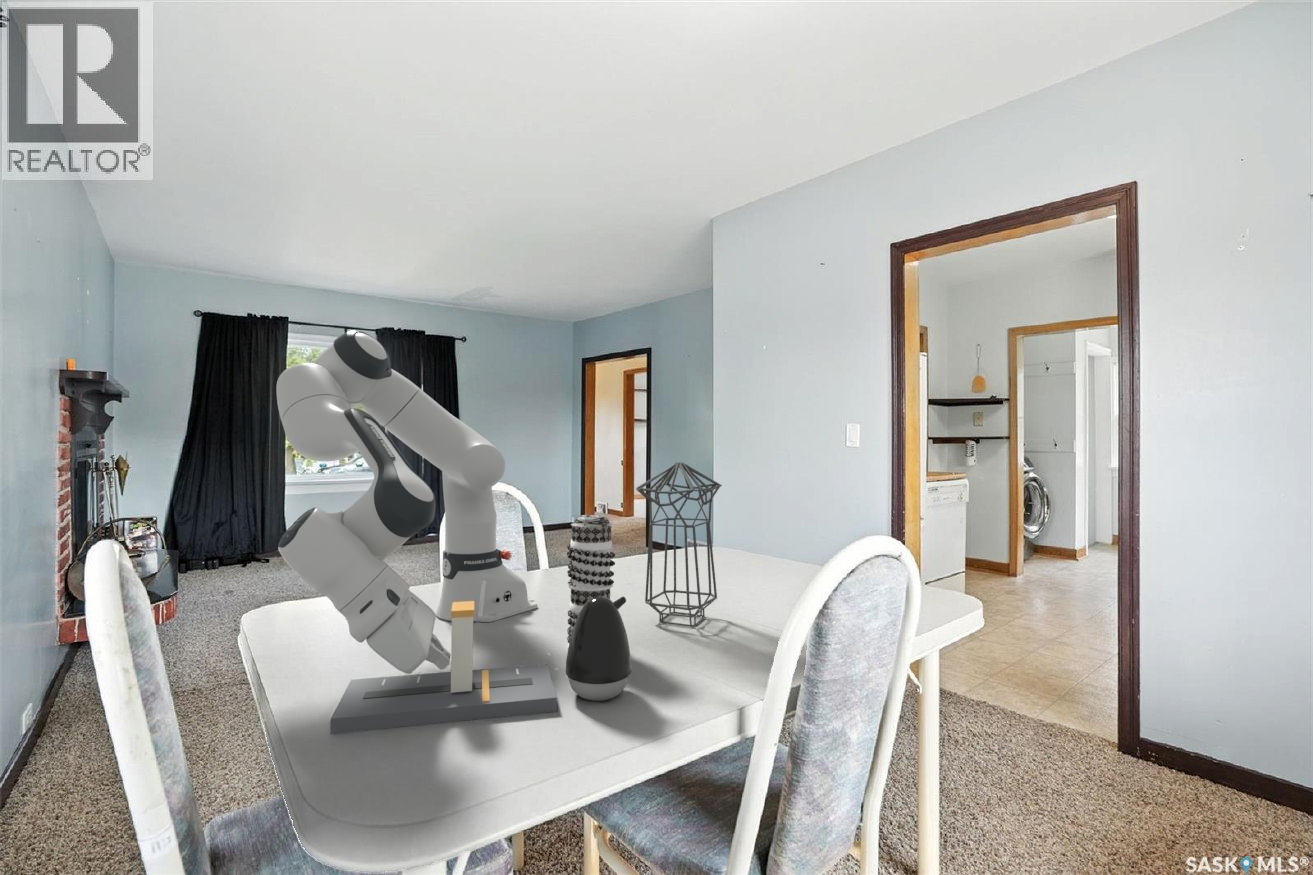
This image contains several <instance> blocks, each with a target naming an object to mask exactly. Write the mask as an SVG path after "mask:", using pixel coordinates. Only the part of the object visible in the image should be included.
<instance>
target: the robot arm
mask: <svg viewBox="0 0 1313 875" xmlns="http://www.w3.org/2000/svg"><path fill="white" fill-rule="evenodd" d="M276 400H277V401H276V402H277V409H278V412H279V418H280V421H281V424H282V427H283V430H284V434H285V436H286V440H287V441H288V443H289V444H290V446H291V448H292V449H293V450H294V451H295V452H296V453H297V454H299V455H300V456H302V457H304V458H306V459H308V460H310V461H316V462H336V461H341V460H345V459H346V458H348V457H351V456H353V455H355V454H357V453H359V455H361V457H362V459H363V460H364V462H365V463H366V464H367V466H368V467H369V469H370V471H372V473H373V480H372V483H371V485H370V487H369V488H368V489H367V490H366V492H364V493H363V495H362V496H360V497H359V498H358V499H357V500H356V501H355V502H354V503H353V504H352V505H350V507H348V508H347V509H345V510H342V511H339V512H333V513H330V512H329V513H328V512H327V511H326V510H323V509H322V508H319V507H316V506H315V507H312V508H310V509H307V511H304V513H302V514H301V515H300V516H299V517H298V518H297V519H296V520H295V521H294V522H293V523H292V525H291V526H290V527H288V528H287V529H286V531H285V532H284V533H283V534H282V536H281V537H280V539H279V541H278V546H277V549H278V552H279V554H280V555H281V557H282V558H283V559H284V561H285V562H286V563H287V565H288V566H289V568H291V569H292V570H293V571H294V573H296V575H297V576H298V577H299V578H300V579H302V580H303V581H304V583H305V584H307V585H308V586H309V587H311V589H312V590H314V591H315V592H317V593H320V594H322V595H324V596H325V597H326V598H327V599H328V600H330V602H331V603H332V604H333V607H334V608H335V609H336V610H337V611H338V613H340V615H342V616H343V617H345V620H346V621H347V625H348V628H349V629H348V631H349V635H350V636H351V637H352V638H353V639H354V640H355V641H357V642H358V643H363V642H364V641H365V640H366V643H367V645H368V646H369V648H371V649H372V651H373V652H375V653H376V654H377V655H378V656H379V657H381V658H382V659H384V660H385V661H386V662H387V663H388V664H390V665H391V666H392V667H394V668H395V669H397V670H398V671H400V672H401V673H404V674H406V675H412V673H413V672H414V671H415V670H416V669H417V668H419V667H420V666H421V665H422V664H423V662H425V661H427V662H429V663H432V664H434V665H435V666H436V667H437V668H438V669H439V670H445V669H446V667H447V668H448V666H449V665H450V664H451V652H450V651H448V650H447V649H446V648H445V647H444V645H443V643H442V642H441V641H440V640H439V638H438V637H437V636H436V634H434V628H435V622H436V619H437V618H440V619H442V620H444V621H445V620H446V621H451V622H452V618H451V609H452V603H453V602H464V601H474V617H473V622H482V623H483V622H484V623H490V622H495V621H499V620H501V619H502V620H503V619H505V618H508V617H512V616H514V615H518V614H521V613H525V612H527V611H531V610H534V609H537V608H538V602H537V601H536V600H535V599H533V598H531V597H529V596H528V588H527V585H526V582H525V580H524V579H523V578H522V577H520V576H519V575H518V574H516V572H514V571H512V570H511V569H510V568H509V567H508V566H505V564H504V562H503V560H506V561H509V560H511V559H512V552H511V551H509V550H505V549H504V550H502V551H501V550H500V549H498V548H497V512H496V507H495V503H494V495H493V494H494V493H493V487H494V486H495V485H497V484H498V483H499V481H501V479H502V478H503V476H504V473H505V470H506V461H505V458H504V456H503V453H502V452H501V451H500V450H499V448H498V447H497V446H495V445H494V444H493V443H491V442H490V441H489V440H488V439H486V438H485V437H484V436H482V435H481V434H480V433H478V432H477V431H476V430H474V429H473V428H472V427H471V426H469V425H467V424H466V423H464V422H463V421H461V420H460V419H459V418H457V417H456V416H454V415H453V414H451V413H450V412H449V411H448V410H447V409H446V408H444V407H443V406H442V405H440V404H439V403H438V402H437V401H436V400H434V399H433V397H431V396H429V394H427V393H426V392H425V391H424V390H422V389H421V388H420V387H419V386H418V385H416V384H415V383H414V382H413V381H411V380H410V379H409V378H407V377H405V375H402V374H401V373H399V372H398V371H396V370H394V369H393V368H391V360H390V355H389V353H388V351H387V349H386V348H385V347H384V346H383V344H381V342H380V341H379V340H377V339H376V338H375V337H373V336H372V335H370V334H368V333H366V332H364V331H359V330H348V331H346V332H344V333H342V334H341V335H340V336H338V337H337V338H336V339H334V341H333V343H332V344H331V345H330V346H328V347H326V349H325V350H324V351H322V353H320V354H319V355H318V356H317V357H316V358H315V359H314V360H313V361H312V362H302V363H297V364H294V365H291V366H290V367H289V366H288V368H286V369H284V370H283V371H282V372H281V374H279V377H278V378H277V382H276ZM358 405H359V406H360V408H362V409H363V410H362V409H360V408H357V407H358ZM385 430H387V431H388V432H390V433H391V434H392V435H393V436H395V437H396V438H397V439H398V440H400V441H401V442H403V444H405V445H406V446H407V447H408V448H410V449H411V450H412V451H413V452H414V453H417V454H418V455H419V456H421V457H423V458H424V459H425V460H427V461H428V462H429V463H430V464H432V465H433V466H434V467H436V468H437V469H439V471H441V474H442V475H441V476H442V478H441V479H442V491H443V492H442V493H443V502H444V503H443V504H444V516H445V525H444V528H445V530H444V532H445V534H444V537H445V538H444V550H443V551H442V566H441V568H442V570H441V571H442V577H443V580H442V586H441V587H442V588H441V593H440V594H441V595H440V599H439V604H438V606H437V610H436V612H435V611H434V610H433V609H432V608H431V607H430V606H429V605H428V604H427V603H425V602H424V601H423V600H422V599H421V598H420V597H418V596H417V595H416V594H415V593H413V592H412V591H410V587H411V586H410V583H409V582H407V581H406V580H405V579H404V578H403V577H402V576H401V575H400V574H398V572H396V570H394V569H393V568H392V567H391V566H390V565H389V564H388V563H387V562H385V560H386V559H387V558H388V557H389V556H390V555H392V554H393V553H394V552H396V550H398V549H399V548H400V547H401V546H403V544H405V543H406V542H407V541H408V540H409V539H410V538H411V537H414V536H415V535H417V534H418V533H419V532H420V531H422V530H423V529H425V528H426V527H427V526H429V525H430V524H432V522H433V520H434V518H435V516H436V514H435V513H436V497H435V496H436V495H435V493H434V491H433V489H432V488H431V487H430V486H429V484H428V483H427V482H426V481H425V480H424V479H423V478H422V477H421V476H420V475H419V474H418V473H417V472H416V471H415V470H414V469H413V467H412V466H411V465H410V463H409V462H408V461H407V459H406V458H405V456H404V455H403V453H402V452H401V450H400V449H399V448H398V447H397V445H396V444H395V443H394V441H393V440H392V438H391V437H390V436H389V434H388V433H387V431H385Z"/></svg>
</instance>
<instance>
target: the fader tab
mask: <svg viewBox="0 0 1313 875" xmlns="http://www.w3.org/2000/svg"><path fill="white" fill-rule="evenodd" d="M473 617H474V601H464V602H453V603H452V609H451V618H452V621H451V646H450V647H451V648H450V651H451V652H450V654H451V656H450V672H451V693H454V692H465V691H472V670H473V669H474V668H473V663H474V662H473V661H474V660H473V658H474V657H473V656H474V651H473V650H474V621H473Z"/></svg>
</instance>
